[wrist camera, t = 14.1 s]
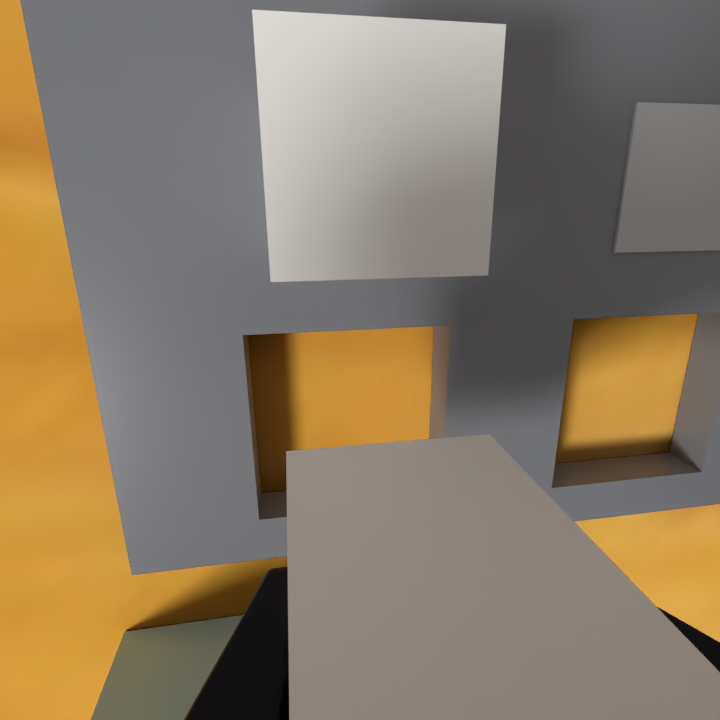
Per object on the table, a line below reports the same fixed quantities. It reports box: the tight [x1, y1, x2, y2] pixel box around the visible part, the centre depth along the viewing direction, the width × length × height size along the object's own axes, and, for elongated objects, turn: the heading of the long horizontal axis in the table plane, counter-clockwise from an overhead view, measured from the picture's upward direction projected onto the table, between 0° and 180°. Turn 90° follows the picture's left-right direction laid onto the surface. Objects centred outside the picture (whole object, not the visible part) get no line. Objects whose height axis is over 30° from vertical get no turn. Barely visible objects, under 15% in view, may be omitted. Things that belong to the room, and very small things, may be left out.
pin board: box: [20, 0, 720, 575], centre depth 12 cm, size 24×16×6 cm, turn 91°
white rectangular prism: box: [286, 434, 720, 720], centre depth 6 cm, size 4×4×6 cm
